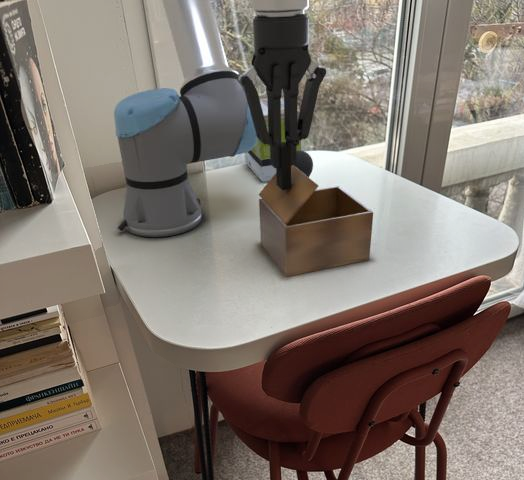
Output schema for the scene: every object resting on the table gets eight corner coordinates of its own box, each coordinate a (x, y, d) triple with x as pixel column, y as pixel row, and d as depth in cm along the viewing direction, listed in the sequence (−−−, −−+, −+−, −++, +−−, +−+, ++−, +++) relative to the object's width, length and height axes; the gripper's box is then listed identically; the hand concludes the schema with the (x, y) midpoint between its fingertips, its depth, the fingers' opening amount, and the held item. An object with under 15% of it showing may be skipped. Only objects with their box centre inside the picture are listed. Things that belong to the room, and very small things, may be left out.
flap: (286, 224, 84) (284, 222, 84) (259, 195, 94) (258, 194, 94) (318, 186, 82) (317, 184, 82) (288, 161, 92) (286, 159, 92)
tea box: (243, 163, 137) (239, 99, 128) (281, 158, 139) (280, 95, 130) (261, 183, 125) (258, 114, 116) (302, 177, 127) (303, 109, 118)
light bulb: (297, 206, 113) (297, 157, 107) (280, 198, 117) (279, 150, 111) (318, 199, 116) (319, 151, 110) (301, 192, 119) (301, 145, 113)
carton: (286, 276, 89) (285, 227, 84) (260, 244, 99) (258, 198, 94) (369, 260, 93) (373, 211, 88) (336, 230, 103) (338, 185, 98)
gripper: (241, 19, 69) (251, 201, 83) (337, 11, 72) (331, 188, 86) (226, 14, 75) (238, 185, 89) (315, 7, 78) (313, 173, 92)
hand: (283, 186), depth 87 cm, fingers closed
